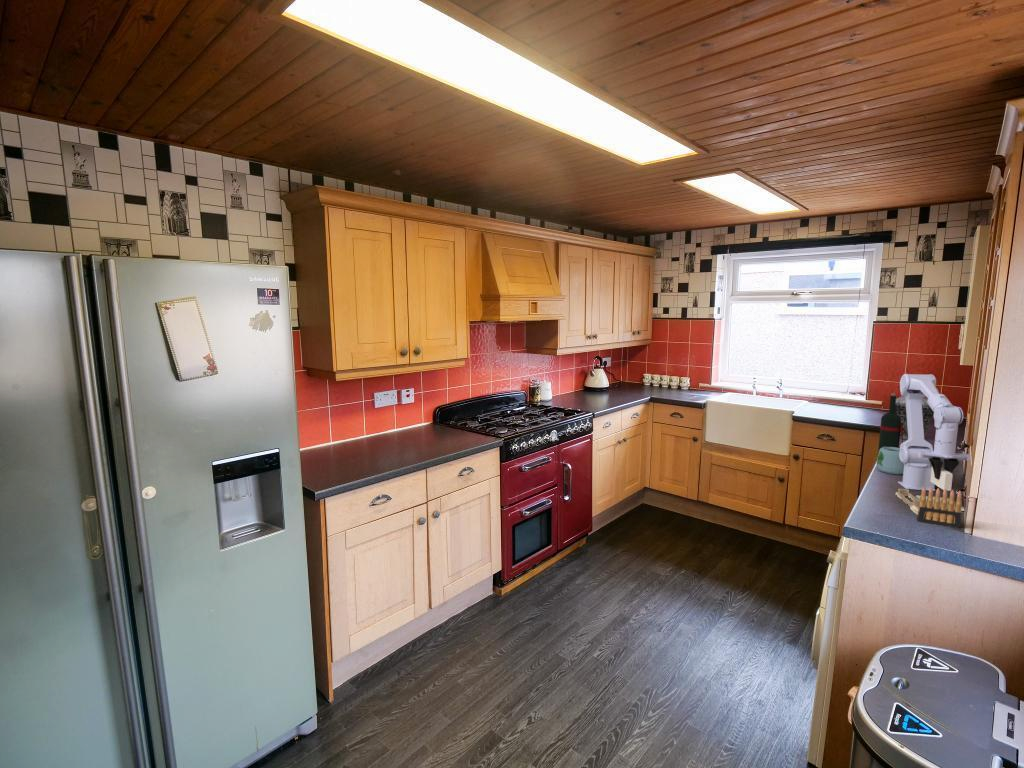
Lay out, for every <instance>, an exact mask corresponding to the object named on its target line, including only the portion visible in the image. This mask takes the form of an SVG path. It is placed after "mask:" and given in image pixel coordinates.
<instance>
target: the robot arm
mask: <svg viewBox="0 0 1024 768" xmlns="http://www.w3.org/2000/svg"><path fill="white" fill-rule="evenodd" d="M936 385H937V378H936V376H935V375H934V374H933V373H932V374H931V373H930V374H920V373H919V374H918V373H917V374H916V373H915V374H913V373H912V374H910V373H904V374H903V375H901V377H900V380H899V391H900V395H901V396H903V397H905V401H906V414H907V428H908V439H905V441H903V443H902V442H901V444H899V448H900V452H899V458H900V460H901V461H902V463H904V471H903V474H902V481H897V483H898V484H899V485H900V486H902V487H903V489H908V490H916V491H917V490H918V491H922V488H923V486H925V488H926V491H927V492H929V489H930V487H932V488H933V492H936V489H935V487H936V485H935V484H934V483H932V482H930V480H931V470H932V467H933V471H934V476H935V478H936V479H940V474H941V467H942V468H943V466H944V468H943V469H945V470H947V471H948V472H950V473H952V474H953V471H954V470H955V469H956V468H957V467H958V466H959V465H960V461H965V462H966V461H967V462H970V461H971V460H970V456H971V457H972V455H971V454H969V453H960V452H959V453H958V452H956V450H957V449H956V446H957V438H958V430H959V425H960V424H962V422H963V420H964V411H963V409H962V408H961V407H960V406H955V405H953V404H952V403H951V401H950V400H949V399H948V397H947V396H946V395H945V394H943V393H940V391H939V392H938V390H939V389H938V390H937V389H936V388H937V387H936ZM923 397H925V398H926V399H928V400H927V403H928V405H929V406H930V408H931V409H932V410H933V412H934V418H933V421H934V427H935V436H934V444H932V443H930V442H929V441H927V440H926V439H925V435H924V428H923V416H922V403H921V400H922V398H923ZM933 446H934V447H933ZM942 460H943V461H942Z"/></svg>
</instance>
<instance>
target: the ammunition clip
mask: <svg viewBox="0 0 1024 768" xmlns="http://www.w3.org/2000/svg"><path fill="white" fill-rule="evenodd" d="M962 494H963V493H962V491H961V490H958V492H957V495H956V499H955V491H954V489H951V491H950V494H949V497H948V491H947V490H946V489H945V490H943V492H942V500H941V505H940V497H941V488H940V487H938V488H937V489H936V490H935V494H934V491H933V488H932V487H930V489H929V491H928V494H927V490H926V488H925V486H923V488H922V490H921V493H920V496H921V497H920V502H919V510H918V515H917V517H916V522H919V523H923V524H930V525H935V524H936V526H942V525H943V526H942V527H948V526H951V527H950V528H954V527H960V528H961V521H962V512H961V508H962V507H963V503H962V498H963V497H962ZM934 495H935V496H934ZM926 496H928V498H927V503H926ZM933 497H935V499H934V505H933ZM947 498H949V501H948V507H947ZM954 505H955V509H954ZM925 511H926V512H925ZM932 512H933V514H932Z"/></svg>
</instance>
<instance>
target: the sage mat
mask: <svg viewBox="0 0 1024 768" xmlns="http://www.w3.org/2000/svg"><path fill="white" fill-rule="evenodd" d="M915 497H916V498H917V499H919V500H920V497H921V495H919V494H918V495H915ZM927 498H928V495H926V502H927ZM934 499H935V496H933V505H934ZM941 500H942V497H941V496H940V505H941ZM948 501H949V497H947V507H948ZM954 509H955V505H954ZM961 511H964V506H962V508H961Z"/></svg>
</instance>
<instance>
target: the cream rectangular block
mask: <svg viewBox="0 0 1024 768" xmlns="http://www.w3.org/2000/svg"><path fill="white" fill-rule="evenodd" d="M930 482H932V483H934V484H935V486H937V487H938V488H939V489H940V490H943V491H944V490H945V489H946V490H947V492H951V491H952V486H953V485H952V483H953V472H952V473H950V472H948V471H947V470H945V469H944V468H943V466H942V467H941V474H940V479H936V478H935V476H934V471H933V467H932V470H931V480H930Z"/></svg>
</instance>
